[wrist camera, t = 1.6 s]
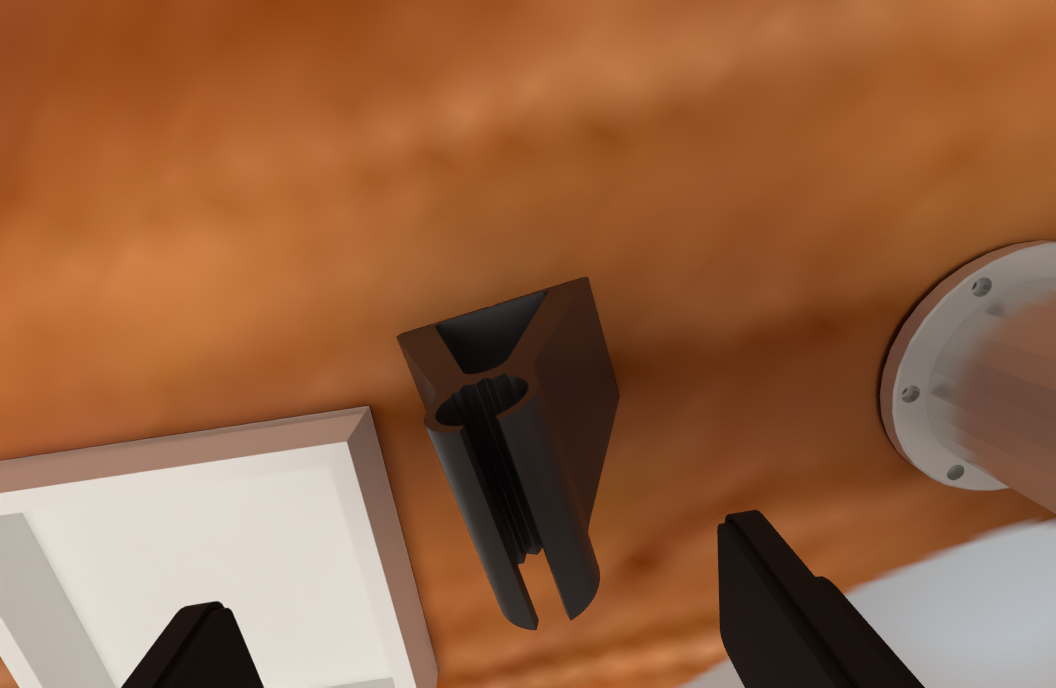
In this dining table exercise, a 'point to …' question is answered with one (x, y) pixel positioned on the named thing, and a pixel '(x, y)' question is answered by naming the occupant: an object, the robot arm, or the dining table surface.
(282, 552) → the tray
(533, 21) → the dining table surface
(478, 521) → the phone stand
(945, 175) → the dining table surface
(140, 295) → the dining table surface
